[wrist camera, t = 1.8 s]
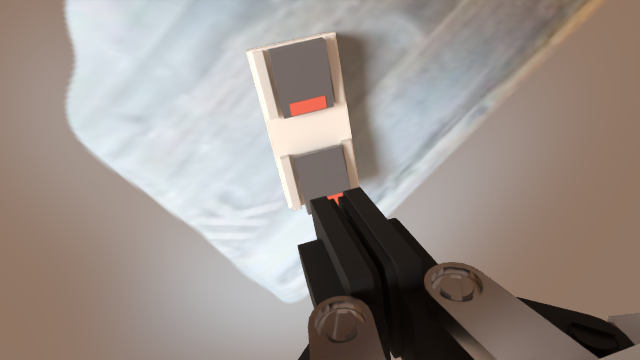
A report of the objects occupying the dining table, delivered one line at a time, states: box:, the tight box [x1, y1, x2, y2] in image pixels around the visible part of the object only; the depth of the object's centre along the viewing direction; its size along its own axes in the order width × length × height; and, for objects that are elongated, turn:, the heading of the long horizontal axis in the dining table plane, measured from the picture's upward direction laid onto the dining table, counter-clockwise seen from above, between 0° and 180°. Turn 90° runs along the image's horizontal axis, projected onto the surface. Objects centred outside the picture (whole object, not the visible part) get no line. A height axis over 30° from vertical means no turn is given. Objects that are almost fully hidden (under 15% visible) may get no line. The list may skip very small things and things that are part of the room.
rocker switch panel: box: [246, 32, 359, 211], centre depth 29 cm, size 14×7×4 cm, turn 12°
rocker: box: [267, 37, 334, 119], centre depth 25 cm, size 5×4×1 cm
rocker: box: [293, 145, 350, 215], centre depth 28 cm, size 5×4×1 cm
